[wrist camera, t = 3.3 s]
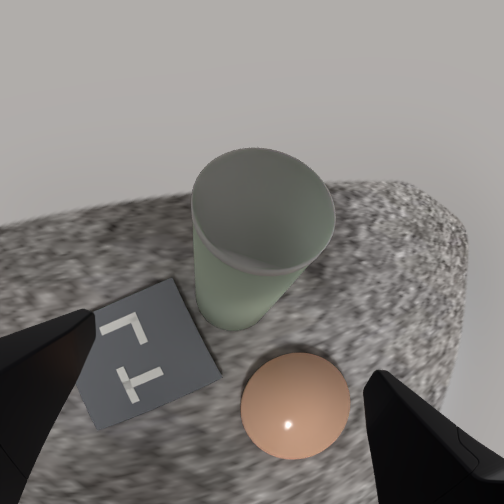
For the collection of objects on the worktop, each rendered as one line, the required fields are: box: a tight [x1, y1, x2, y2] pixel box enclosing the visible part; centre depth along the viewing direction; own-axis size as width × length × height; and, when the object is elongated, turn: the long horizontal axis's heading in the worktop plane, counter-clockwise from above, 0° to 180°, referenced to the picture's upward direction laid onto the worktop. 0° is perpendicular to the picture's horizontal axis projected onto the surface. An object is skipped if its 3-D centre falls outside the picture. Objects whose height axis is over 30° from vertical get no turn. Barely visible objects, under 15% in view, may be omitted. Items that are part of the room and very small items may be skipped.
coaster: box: [240, 353, 350, 459], centre depth 18 cm, size 8×8×1 cm
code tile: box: [76, 277, 223, 431], centre depth 18 cm, size 10×8×1 cm
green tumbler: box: [191, 148, 336, 331], centre depth 16 cm, size 6×6×12 cm
